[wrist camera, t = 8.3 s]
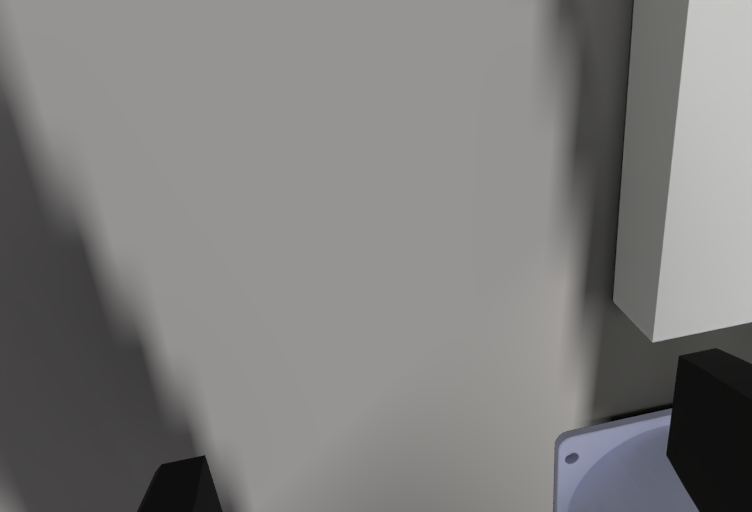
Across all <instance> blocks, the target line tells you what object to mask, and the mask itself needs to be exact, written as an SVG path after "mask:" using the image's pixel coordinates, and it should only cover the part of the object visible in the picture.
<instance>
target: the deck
mask: <svg viewBox="0 0 752 512" xmlns="http://www.w3.org/2000/svg"><path fill="white" fill-rule="evenodd" d="M613 302H614V303H615V304H616V305H617V306H618V307H619V308H620V309H621V310H622V311H623V312H624V313H625V314H626V316H627V317H628V318H629V319H630V320H631V321H632V322H633V323H634V324H635V325H636V326H637V327H638V328H639V329H640V330H641V331H642V332H643V333H644V334H645V335H646V336H647V337H648V338H649V339H650V340H651V342H652V343H653V342H657V341H662V340H667V339H672V338H677V337H682V336H686V335H691V334H696V333H701V332H706V331H711V330H716V329H720V328H725V327H730V326H735V325H740V324H745V323H749V322H752V0H634V8H633V22H632V36H631V50H630V65H629V79H628V93H627V107H626V121H625V136H624V150H623V164H622V178H621V192H620V207H619V221H618V235H617V249H616V264H615V278H614V292H613Z"/></svg>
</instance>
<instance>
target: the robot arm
mask: <svg viewBox="0 0 752 512" xmlns="http://www.w3.org/2000/svg"><path fill="white" fill-rule="evenodd" d="M571 453H572V454H571ZM568 454H571V455H568ZM567 455H568V456H567ZM137 512H222V509H221V505H220V502H219V499H218V496H217V492H216V489H215V486H214V483H213V479H212V476H211V473H210V470H209V466H208V463H207V460H206V457H205V455H204V456H200V457H195V458H190V459H185V460H180V461H176V462H171V463H166V464H162V465H161V466H160V467H159V468H158V470H157V471H156V472H155V474H154V476H153V479H152V481H151V483H150V485H149V487H148V490H147V492H146V494H145V496H144V498H143V500H142V502H141V504H140V507H139V509H138V511H137ZM553 512H752V364H750V363H748V362H746V361H744V360H742V359H740V358H737V357H735V356H733V355H731V354H728V353H726V352H724V351H721V350H719V349H717V348H714V349H710V350H705V351H700V352H695V353H691V354H686V355H681V356H679V360H678V368H677V375H676V383H675V391H674V398H673V406H672V408H671V409H666V410H662V411H657V412H653V413H648V414H644V415H639V416H634V417H630V418H625V419H621V420H616V421H612V422H607V423H602V424H598V425H593V426H589V427H584V428H579V429H575V430H571V431H567V432H565V433H562V434H561V435H560V436H559V437H558V438H557V440H556V442H555V461H554V500H553Z"/></svg>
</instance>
